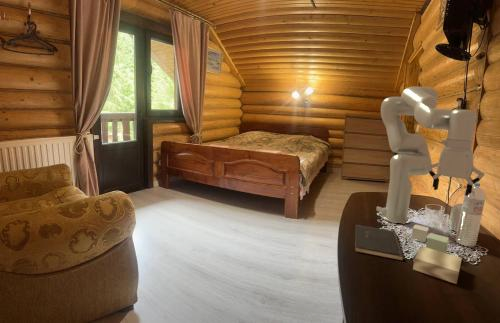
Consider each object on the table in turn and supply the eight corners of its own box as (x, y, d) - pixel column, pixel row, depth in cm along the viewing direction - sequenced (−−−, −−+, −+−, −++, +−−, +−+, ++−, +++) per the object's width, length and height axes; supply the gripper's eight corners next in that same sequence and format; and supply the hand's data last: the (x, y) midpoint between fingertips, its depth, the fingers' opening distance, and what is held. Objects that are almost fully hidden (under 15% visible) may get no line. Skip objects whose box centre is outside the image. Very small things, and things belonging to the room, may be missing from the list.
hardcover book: (354, 252, 110) (355, 246, 110) (354, 229, 132) (355, 224, 131) (402, 262, 105) (403, 256, 105) (395, 236, 127) (396, 231, 126)
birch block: (412, 269, 100) (414, 258, 99) (419, 256, 109) (421, 246, 108) (456, 284, 92) (458, 272, 92) (459, 268, 102) (461, 257, 101)
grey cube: (411, 239, 124) (412, 227, 123) (413, 235, 127) (415, 224, 127) (424, 243, 121) (427, 231, 120) (427, 239, 124) (429, 227, 124)
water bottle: (472, 242, 124) (484, 182, 119) (478, 249, 118) (491, 186, 113) (452, 238, 126) (464, 180, 122) (457, 245, 120) (469, 184, 115)
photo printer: (453, 232, 133) (458, 205, 131) (445, 228, 137) (450, 202, 135) (473, 231, 135) (478, 205, 133) (465, 228, 139) (470, 202, 137)
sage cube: (425, 252, 112) (427, 237, 111) (427, 247, 117) (430, 232, 116) (444, 258, 109) (446, 242, 108) (446, 252, 113) (448, 237, 112)
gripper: (428, 143, 110) (421, 188, 113) (488, 148, 99) (479, 199, 102) (433, 142, 116) (426, 186, 119) (490, 147, 105) (481, 195, 107)
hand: (450, 192), depth 110 cm, fingers open, 9 cm apart
